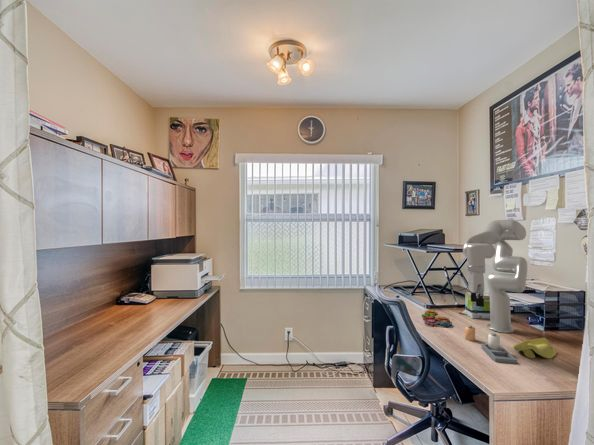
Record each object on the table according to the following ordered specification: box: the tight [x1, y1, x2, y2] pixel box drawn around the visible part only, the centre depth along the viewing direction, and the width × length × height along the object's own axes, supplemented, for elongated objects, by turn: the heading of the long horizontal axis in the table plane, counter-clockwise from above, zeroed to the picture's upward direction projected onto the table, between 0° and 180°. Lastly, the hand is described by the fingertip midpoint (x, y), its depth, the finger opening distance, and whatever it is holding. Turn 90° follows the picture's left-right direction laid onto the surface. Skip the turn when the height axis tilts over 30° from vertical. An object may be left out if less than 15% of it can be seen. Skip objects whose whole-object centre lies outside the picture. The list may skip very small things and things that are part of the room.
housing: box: [480, 343, 518, 364], centre depth 130 cm, size 16×9×2 cm, turn 166°
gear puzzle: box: [421, 309, 455, 329], centre depth 184 cm, size 31×16×4 cm, turn 163°
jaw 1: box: [464, 325, 476, 342], centre depth 148 cm, size 4×4×8 cm
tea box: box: [464, 291, 490, 320], centre depth 188 cm, size 15×10×15 cm, turn 83°
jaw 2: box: [487, 332, 501, 351], centre depth 134 cm, size 4×4×8 cm
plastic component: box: [512, 337, 557, 359], centre depth 131 cm, size 20×7×10 cm
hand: (477, 303), depth 144 cm, fingers open, 9 cm apart
